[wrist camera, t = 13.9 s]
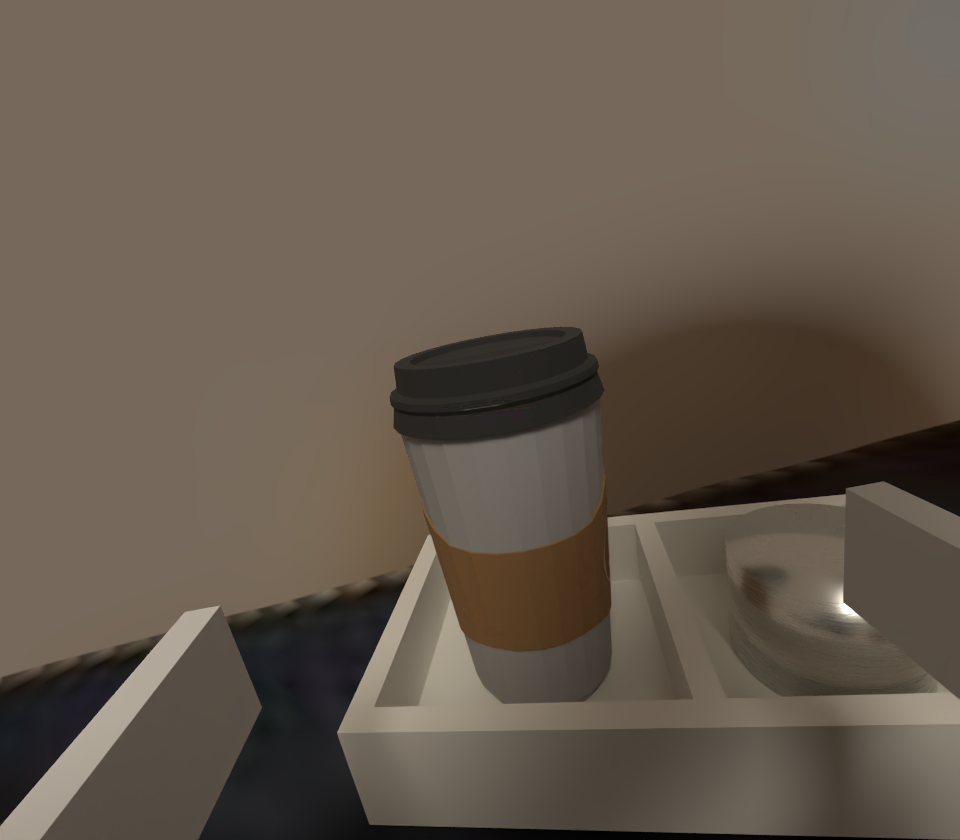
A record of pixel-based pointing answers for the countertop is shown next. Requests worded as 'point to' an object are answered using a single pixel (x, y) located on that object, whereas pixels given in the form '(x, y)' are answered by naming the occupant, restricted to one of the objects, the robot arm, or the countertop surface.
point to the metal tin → (806, 609)
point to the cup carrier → (643, 720)
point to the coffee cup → (516, 504)
